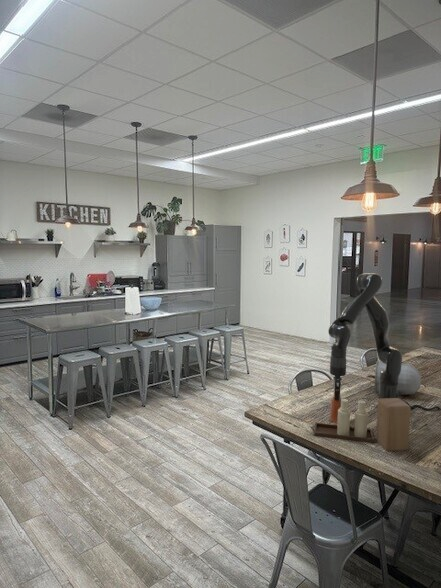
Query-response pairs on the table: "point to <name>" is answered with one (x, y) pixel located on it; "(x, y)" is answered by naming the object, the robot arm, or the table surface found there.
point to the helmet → (400, 378)
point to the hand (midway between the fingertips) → (336, 398)
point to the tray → (331, 432)
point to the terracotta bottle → (335, 408)
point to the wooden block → (393, 424)
